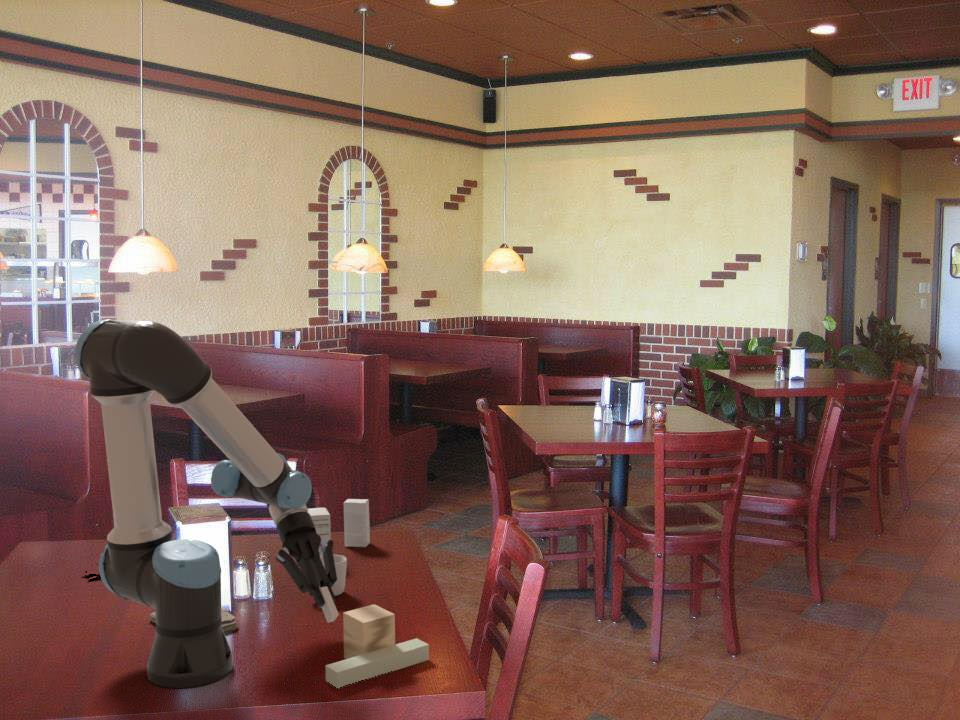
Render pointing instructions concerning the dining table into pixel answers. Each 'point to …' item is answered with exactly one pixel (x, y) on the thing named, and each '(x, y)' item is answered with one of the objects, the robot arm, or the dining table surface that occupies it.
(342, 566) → the cup
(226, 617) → the washcloth
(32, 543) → the dining table surface
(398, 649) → the pale grey bar
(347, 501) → the skincare box
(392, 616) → the block
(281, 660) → the dining table surface
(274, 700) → the dining table surface
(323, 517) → the supplement box
